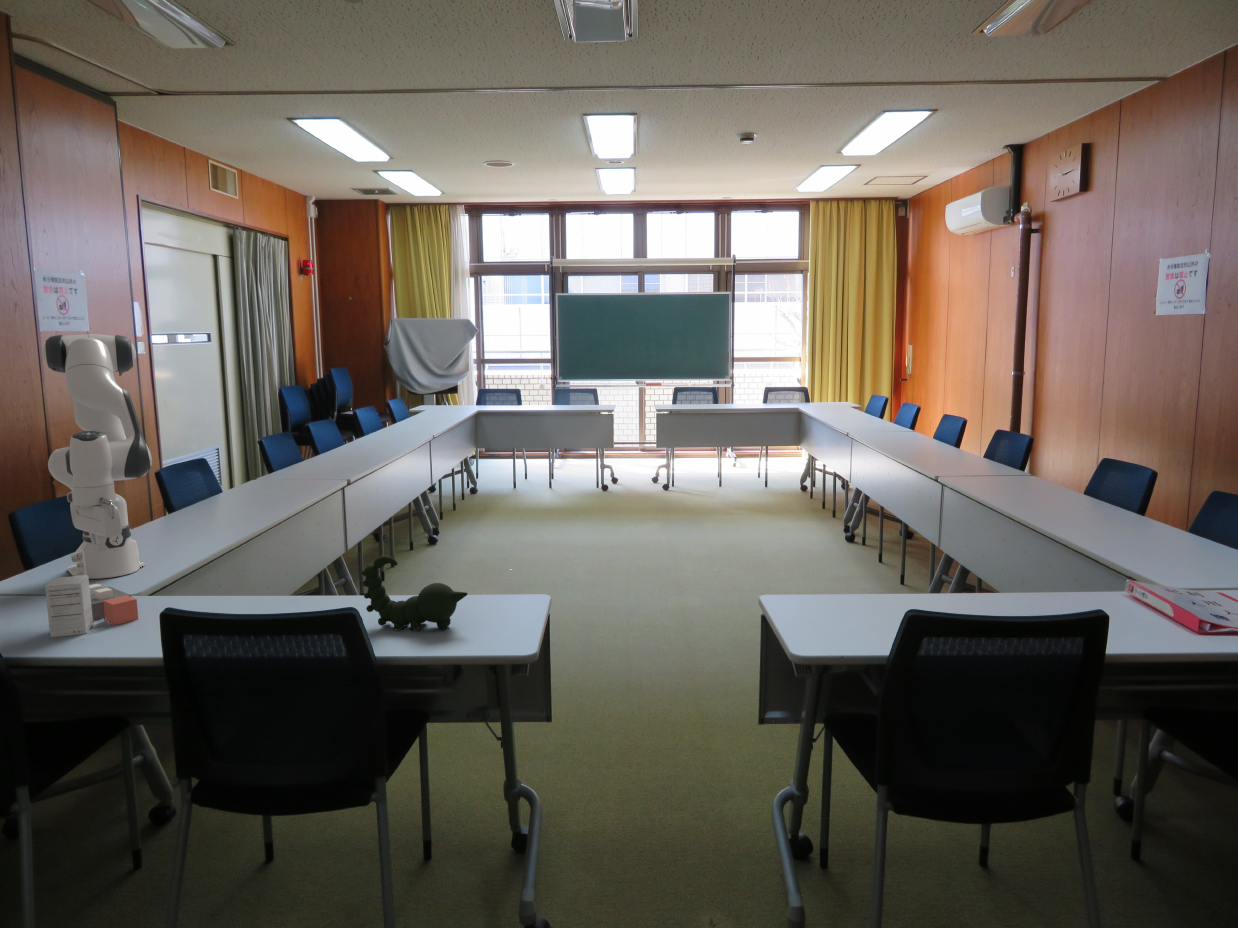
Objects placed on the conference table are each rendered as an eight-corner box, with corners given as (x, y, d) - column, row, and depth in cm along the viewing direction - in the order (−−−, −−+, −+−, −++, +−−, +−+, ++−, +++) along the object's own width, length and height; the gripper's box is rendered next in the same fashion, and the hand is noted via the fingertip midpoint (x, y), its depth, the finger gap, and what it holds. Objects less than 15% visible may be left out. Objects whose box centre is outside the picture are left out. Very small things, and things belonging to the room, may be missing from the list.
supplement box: (58, 627, 193) (53, 577, 192) (94, 624, 196) (89, 574, 194) (49, 637, 187) (43, 585, 185) (86, 633, 189) (81, 582, 187)
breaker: (85, 601, 207) (84, 586, 207) (98, 598, 210) (97, 583, 209) (90, 603, 206) (89, 588, 205) (103, 600, 208) (102, 585, 207)
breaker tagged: (95, 605, 204) (94, 590, 203) (108, 602, 206) (107, 587, 206) (100, 607, 202) (99, 592, 202) (113, 604, 204) (112, 589, 204)
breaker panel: (68, 610, 206) (66, 594, 205) (110, 600, 214) (109, 585, 213) (89, 620, 198) (87, 603, 198) (132, 610, 206) (131, 593, 206)
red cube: (105, 620, 198) (103, 600, 198) (128, 614, 203) (126, 595, 202) (114, 625, 195) (112, 604, 194) (138, 619, 199) (136, 599, 199)
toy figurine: (364, 639, 190) (465, 633, 188) (353, 562, 188) (456, 555, 185) (379, 625, 200) (476, 620, 197) (369, 552, 197) (467, 545, 194)
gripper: (126, 498, 197) (131, 553, 198) (91, 490, 208) (96, 542, 210) (98, 502, 191) (103, 558, 193) (63, 494, 203) (69, 546, 205)
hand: (99, 550), depth 202 cm, fingers closed
